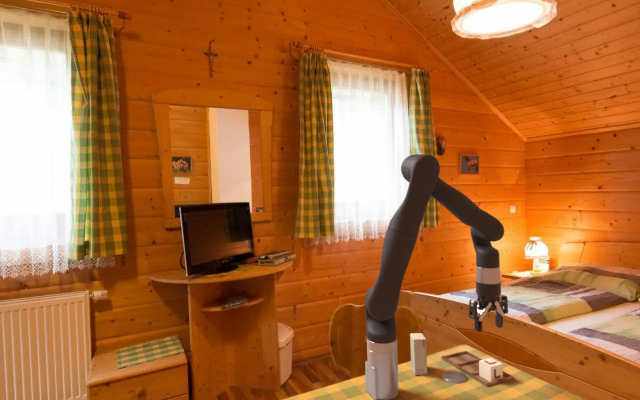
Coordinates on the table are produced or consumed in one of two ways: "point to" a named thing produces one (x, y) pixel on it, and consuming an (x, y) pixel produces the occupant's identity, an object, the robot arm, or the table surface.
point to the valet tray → (472, 367)
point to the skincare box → (418, 353)
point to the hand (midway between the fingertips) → (489, 329)
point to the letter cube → (490, 369)
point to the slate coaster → (454, 376)
